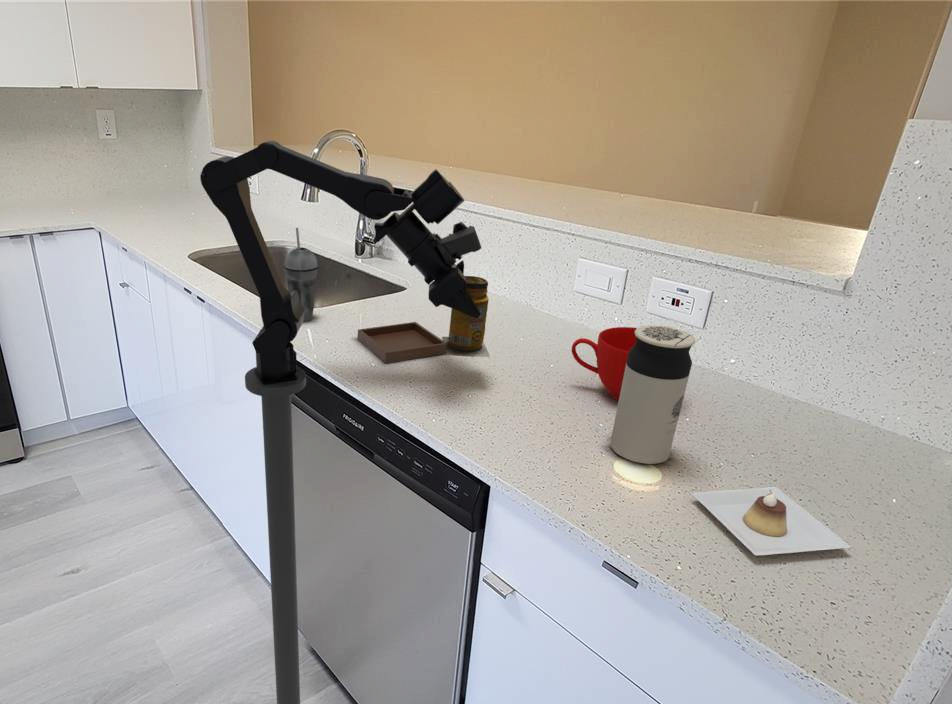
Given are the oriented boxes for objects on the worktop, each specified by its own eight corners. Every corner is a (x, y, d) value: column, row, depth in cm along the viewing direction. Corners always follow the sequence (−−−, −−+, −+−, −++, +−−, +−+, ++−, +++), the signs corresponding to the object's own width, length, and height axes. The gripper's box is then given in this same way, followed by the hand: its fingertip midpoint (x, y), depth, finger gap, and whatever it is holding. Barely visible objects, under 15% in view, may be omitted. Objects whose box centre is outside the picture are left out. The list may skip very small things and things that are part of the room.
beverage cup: (325, 317, 143) (325, 226, 135) (305, 326, 137) (303, 232, 129) (299, 310, 146) (297, 222, 138) (278, 319, 141) (275, 227, 133)
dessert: (773, 493, 84) (784, 462, 82) (848, 555, 73) (862, 520, 71) (688, 499, 82) (697, 467, 80) (752, 563, 72) (764, 528, 70)
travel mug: (598, 447, 94) (621, 331, 87) (629, 431, 98) (653, 320, 91) (649, 472, 88) (677, 350, 81) (679, 454, 93) (709, 337, 85)
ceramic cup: (569, 370, 119) (577, 319, 115) (668, 386, 114) (680, 333, 109) (562, 399, 108) (570, 344, 104) (671, 418, 102) (685, 361, 98)
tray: (385, 363, 120) (385, 352, 119) (357, 339, 131) (357, 329, 130) (446, 353, 125) (447, 343, 124) (414, 331, 136) (415, 321, 135)
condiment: (481, 339, 116) (489, 274, 111) (490, 358, 109) (498, 289, 104) (441, 337, 116) (447, 273, 111) (447, 356, 109) (453, 288, 104)
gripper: (457, 221, 95) (522, 296, 99) (452, 200, 112) (509, 265, 116) (400, 270, 99) (466, 341, 103) (405, 242, 116) (461, 304, 120)
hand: (477, 310), depth 110 cm, fingers closed on condiment, 6 cm apart
